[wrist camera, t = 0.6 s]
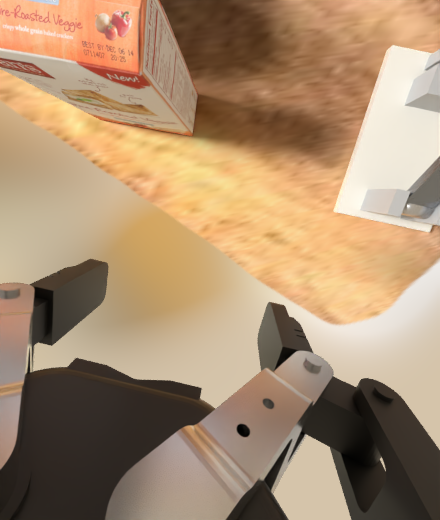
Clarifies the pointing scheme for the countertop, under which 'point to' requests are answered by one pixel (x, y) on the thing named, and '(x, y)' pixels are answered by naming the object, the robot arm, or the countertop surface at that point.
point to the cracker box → (101, 59)
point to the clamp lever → (424, 193)
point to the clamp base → (395, 140)
